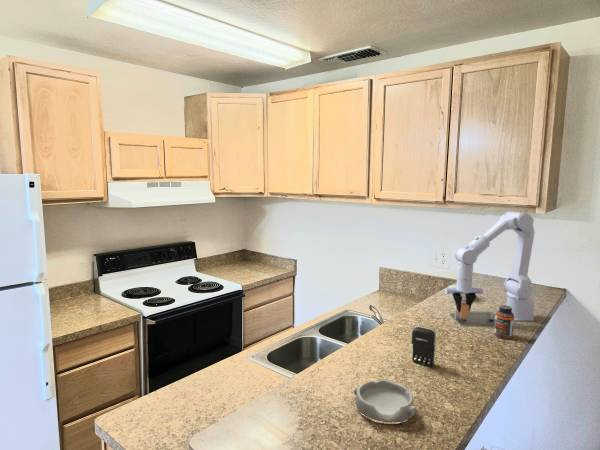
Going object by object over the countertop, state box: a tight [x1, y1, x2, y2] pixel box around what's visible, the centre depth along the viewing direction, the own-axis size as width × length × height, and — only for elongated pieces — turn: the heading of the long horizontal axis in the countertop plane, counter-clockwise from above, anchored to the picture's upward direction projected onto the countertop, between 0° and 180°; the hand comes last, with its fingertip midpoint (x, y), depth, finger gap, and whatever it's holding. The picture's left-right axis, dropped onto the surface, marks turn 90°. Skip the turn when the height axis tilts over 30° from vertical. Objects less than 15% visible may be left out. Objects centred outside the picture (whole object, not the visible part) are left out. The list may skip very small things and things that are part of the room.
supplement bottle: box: [494, 304, 515, 340], centre depth 139 cm, size 6×6×11 cm
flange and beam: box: [449, 310, 496, 327], centre depth 155 cm, size 16×12×4 cm
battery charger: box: [411, 325, 437, 367], centre depth 120 cm, size 7×4×11 cm, turn 55°
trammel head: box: [460, 301, 469, 320], centre depth 155 cm, size 3×4×6 cm
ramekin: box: [447, 284, 466, 302], centre depth 183 cm, size 11×11×5 cm
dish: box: [353, 379, 417, 422], centre depth 97 cm, size 14×14×5 cm
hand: (463, 310), depth 155 cm, fingers closed on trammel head, 3 cm apart
